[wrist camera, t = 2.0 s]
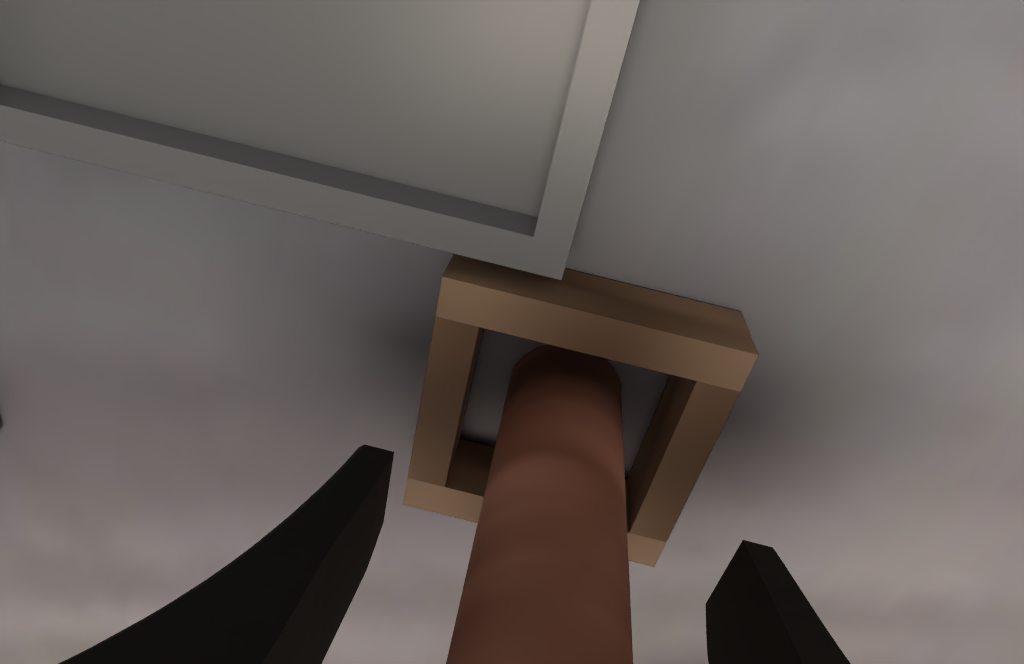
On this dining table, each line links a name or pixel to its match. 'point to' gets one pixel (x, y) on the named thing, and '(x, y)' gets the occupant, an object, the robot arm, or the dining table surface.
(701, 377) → the collar
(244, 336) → the dining table surface
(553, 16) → the tray
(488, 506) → the dowel
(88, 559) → the dining table surface
